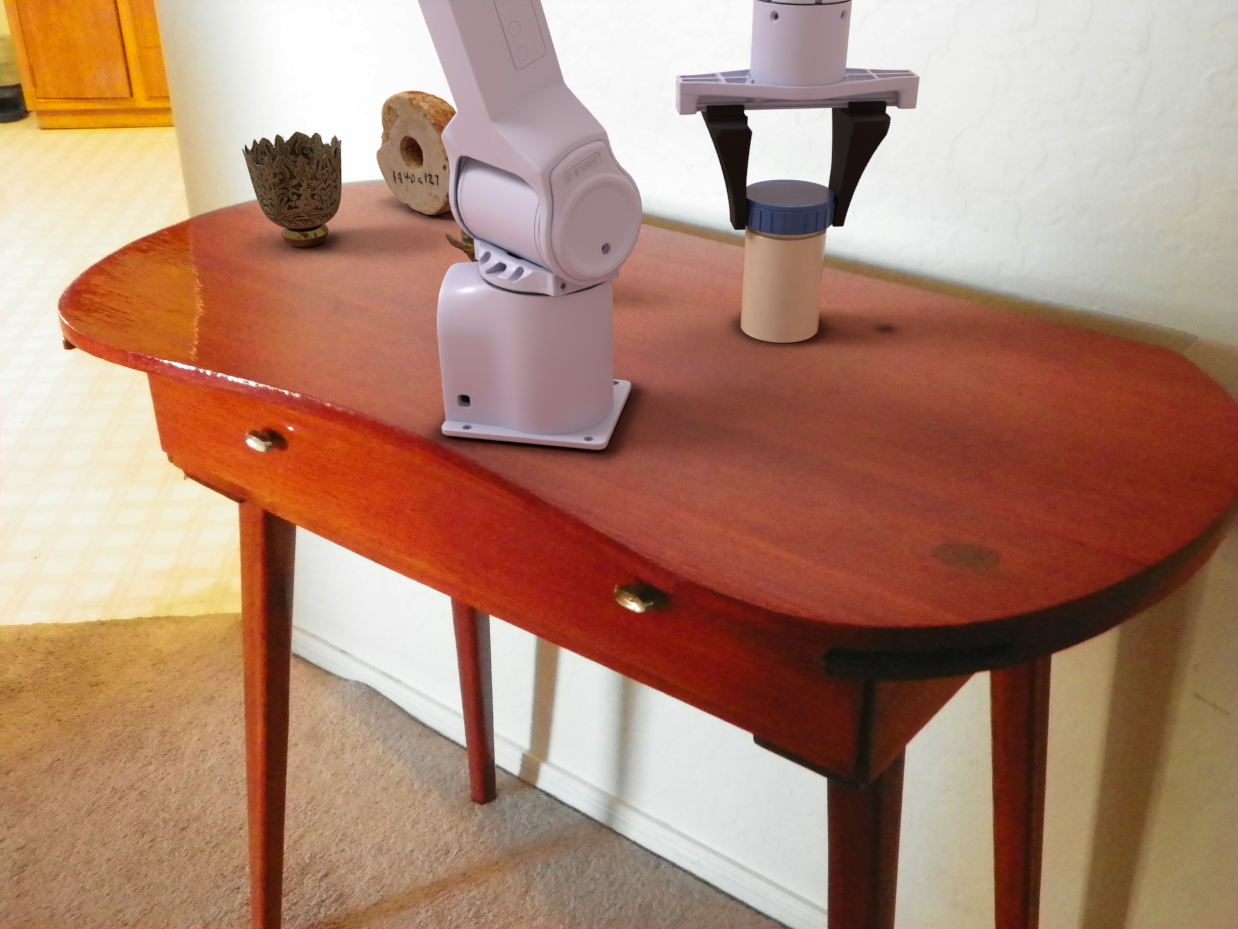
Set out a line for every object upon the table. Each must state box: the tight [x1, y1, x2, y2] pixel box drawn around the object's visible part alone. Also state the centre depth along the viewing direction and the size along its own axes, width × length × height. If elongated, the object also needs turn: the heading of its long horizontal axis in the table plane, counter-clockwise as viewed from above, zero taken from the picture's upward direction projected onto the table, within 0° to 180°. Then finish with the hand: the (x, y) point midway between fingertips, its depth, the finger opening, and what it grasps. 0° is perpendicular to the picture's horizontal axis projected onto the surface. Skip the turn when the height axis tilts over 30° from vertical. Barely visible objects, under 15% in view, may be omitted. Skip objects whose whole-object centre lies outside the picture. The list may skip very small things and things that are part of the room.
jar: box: [740, 226, 828, 344], centre depth 75 cm, size 5×5×9 cm
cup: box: [241, 131, 343, 248], centre depth 90 cm, size 8×7×8 cm
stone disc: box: [375, 90, 457, 216], centre depth 97 cm, size 10×4×10 cm, turn 45°
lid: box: [746, 179, 836, 235], centre depth 73 cm, size 6×6×2 cm
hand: (787, 223), depth 73 cm, fingers closed on lid, 6 cm apart
